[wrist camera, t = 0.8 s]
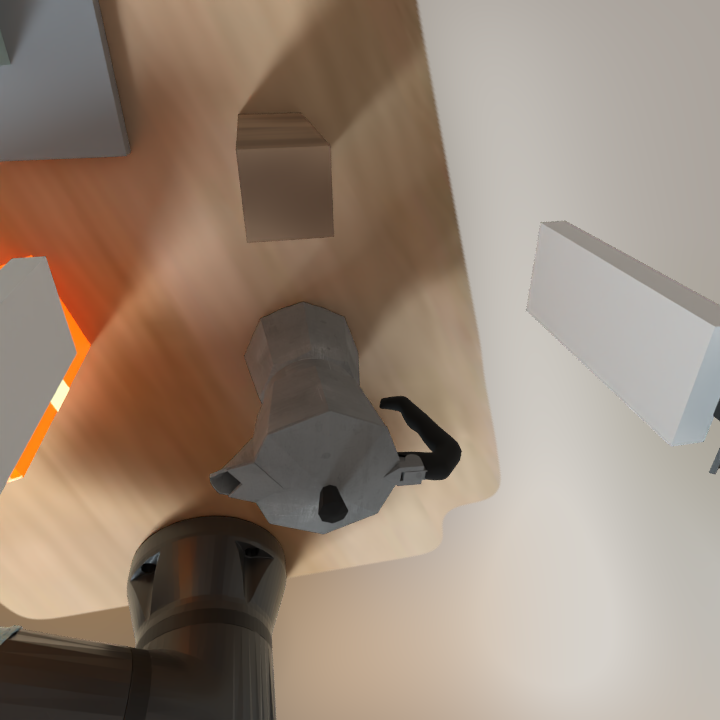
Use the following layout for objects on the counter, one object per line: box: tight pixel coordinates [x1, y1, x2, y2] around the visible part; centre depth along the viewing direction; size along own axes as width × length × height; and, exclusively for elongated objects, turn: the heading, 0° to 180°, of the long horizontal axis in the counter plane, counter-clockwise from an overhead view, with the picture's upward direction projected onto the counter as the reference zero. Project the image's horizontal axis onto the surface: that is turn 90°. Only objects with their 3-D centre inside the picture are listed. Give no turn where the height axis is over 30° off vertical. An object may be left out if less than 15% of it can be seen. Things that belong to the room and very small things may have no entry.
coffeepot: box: [210, 302, 462, 534], centre depth 36 cm, size 15×9×18 cm, turn 85°
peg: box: [236, 113, 334, 243], centre depth 30 cm, size 4×4×14 cm
